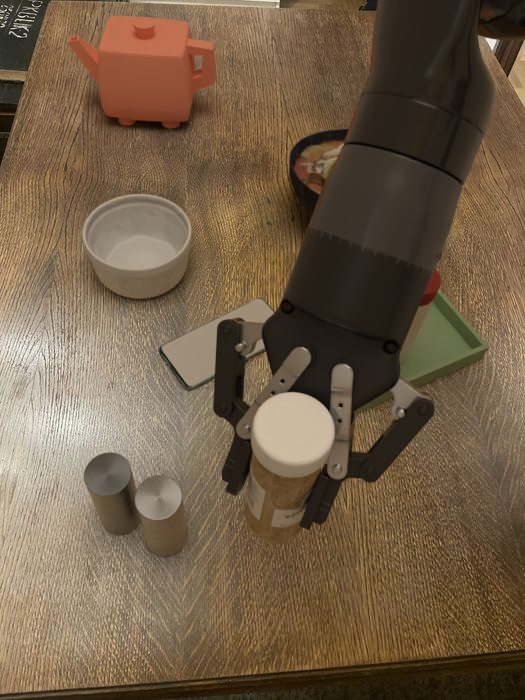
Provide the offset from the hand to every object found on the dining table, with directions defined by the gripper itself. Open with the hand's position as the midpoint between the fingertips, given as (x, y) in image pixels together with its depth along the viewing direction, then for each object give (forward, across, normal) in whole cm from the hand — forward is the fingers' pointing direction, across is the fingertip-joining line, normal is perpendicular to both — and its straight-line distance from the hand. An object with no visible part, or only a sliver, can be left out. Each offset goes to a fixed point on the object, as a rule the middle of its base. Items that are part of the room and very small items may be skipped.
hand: (270, 505), depth 38 cm
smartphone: (-1, -15, +34) cm, 37 cm away
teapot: (-27, -48, +60) cm, 81 cm away
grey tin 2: (+15, -10, +17) cm, 25 cm away
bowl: (-21, -11, +54) cm, 59 cm away
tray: (-7, +4, +40) cm, 41 cm away
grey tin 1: (+15, -15, +17) cm, 27 cm away
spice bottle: (-7, +3, +39) cm, 40 cm away
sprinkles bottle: (+3, 0, +6) cm, 7 cm away
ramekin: (-5, -30, +38) cm, 49 cm away
